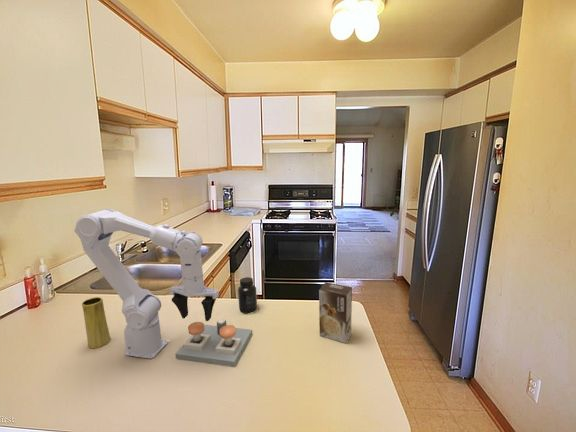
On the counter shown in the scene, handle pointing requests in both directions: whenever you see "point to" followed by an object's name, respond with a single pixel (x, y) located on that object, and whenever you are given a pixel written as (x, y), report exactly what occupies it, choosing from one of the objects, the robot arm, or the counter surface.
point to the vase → (95, 322)
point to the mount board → (215, 347)
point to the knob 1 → (196, 330)
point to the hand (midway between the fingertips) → (196, 318)
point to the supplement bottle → (247, 296)
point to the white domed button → (220, 325)
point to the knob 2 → (227, 333)
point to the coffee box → (335, 311)
